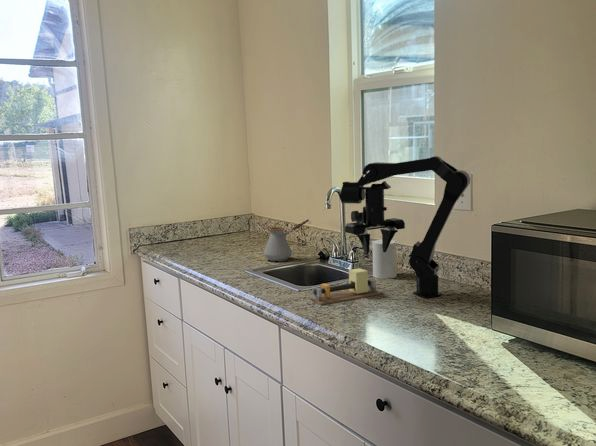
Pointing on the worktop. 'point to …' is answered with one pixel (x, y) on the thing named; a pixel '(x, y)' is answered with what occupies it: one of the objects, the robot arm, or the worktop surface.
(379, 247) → the cup
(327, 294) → the band
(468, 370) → the worktop surface
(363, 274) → the sleeve
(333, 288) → the rod on a board
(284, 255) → the coffee pot
